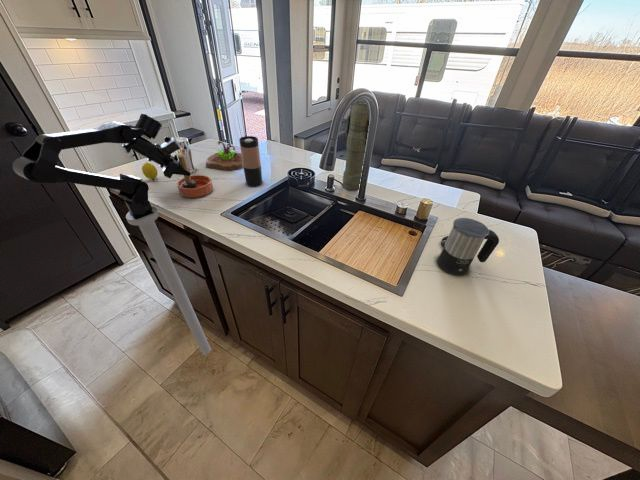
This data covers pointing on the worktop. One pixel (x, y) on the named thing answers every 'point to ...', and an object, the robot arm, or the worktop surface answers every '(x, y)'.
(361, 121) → the green banded column
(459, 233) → the milk frother
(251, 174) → the travel mug
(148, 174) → the lemon
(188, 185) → the dish brush
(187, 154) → the beer glass
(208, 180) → the bowl
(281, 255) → the worktop surface
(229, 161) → the plant
